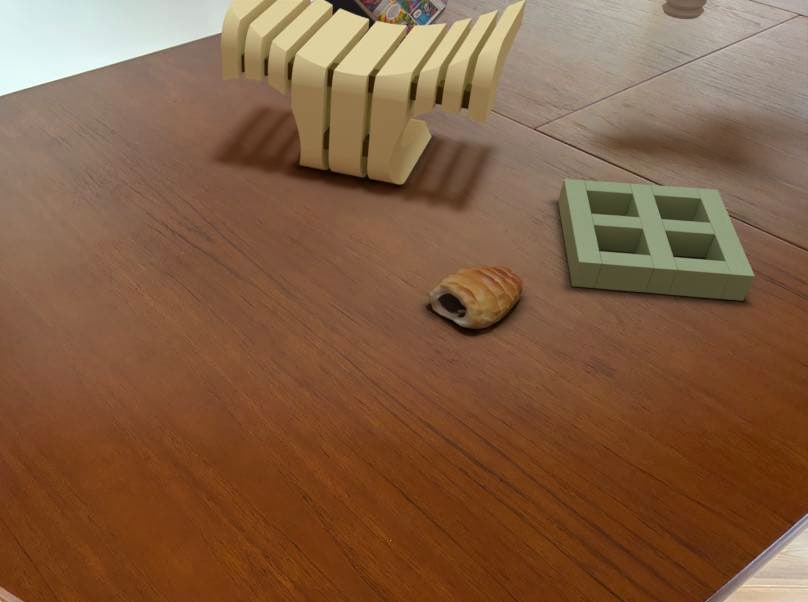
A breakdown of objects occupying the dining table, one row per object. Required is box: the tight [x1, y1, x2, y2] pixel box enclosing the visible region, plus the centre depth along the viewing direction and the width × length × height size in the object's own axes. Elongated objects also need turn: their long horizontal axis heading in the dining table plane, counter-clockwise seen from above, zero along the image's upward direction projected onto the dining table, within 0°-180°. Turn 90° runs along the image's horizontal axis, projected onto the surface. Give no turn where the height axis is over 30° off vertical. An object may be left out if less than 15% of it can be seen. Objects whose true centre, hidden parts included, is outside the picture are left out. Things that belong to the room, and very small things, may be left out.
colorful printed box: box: [311, 0, 449, 53], centre depth 121 cm, size 20×22×18 cm
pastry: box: [428, 265, 524, 330], centre depth 83 cm, size 9×7×4 cm
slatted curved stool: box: [220, 0, 527, 186], centre depth 100 cm, size 30×16×18 cm, turn 67°
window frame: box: [557, 178, 755, 302], centre depth 90 cm, size 16×16×3 cm
